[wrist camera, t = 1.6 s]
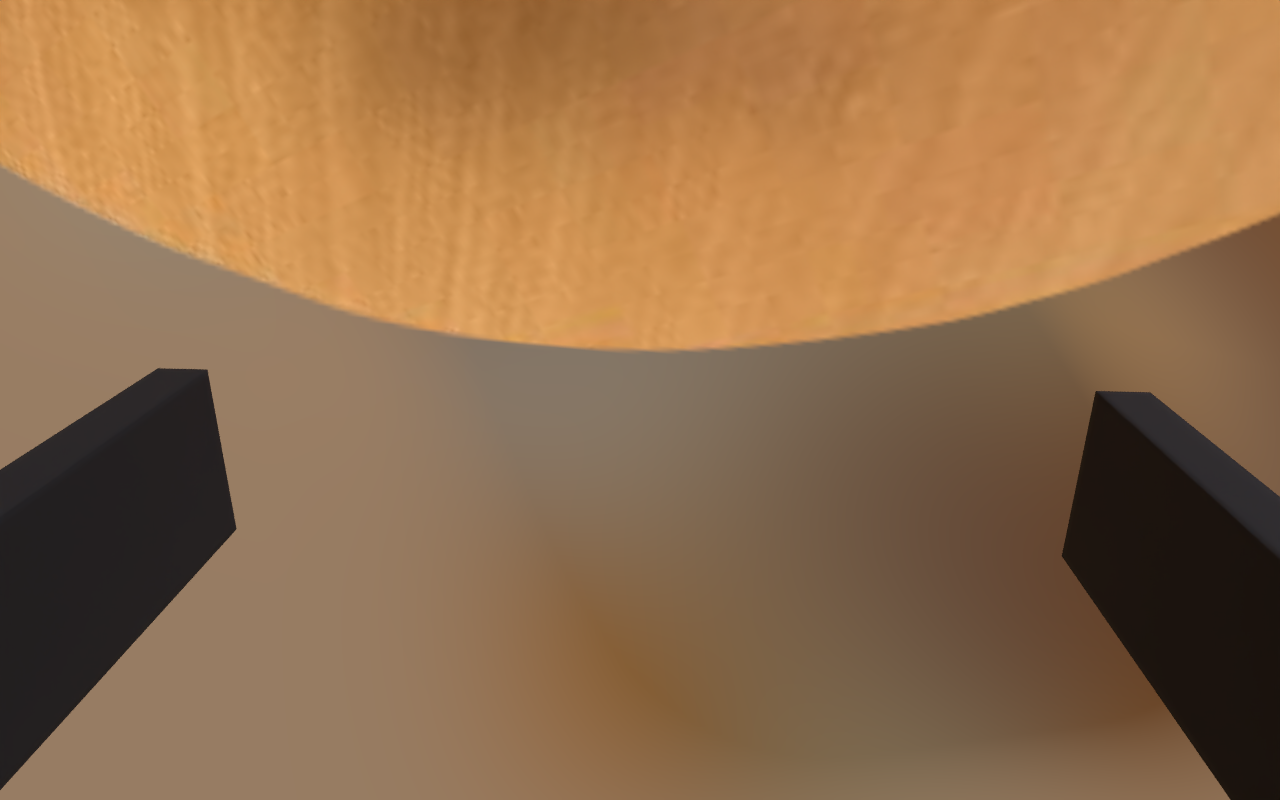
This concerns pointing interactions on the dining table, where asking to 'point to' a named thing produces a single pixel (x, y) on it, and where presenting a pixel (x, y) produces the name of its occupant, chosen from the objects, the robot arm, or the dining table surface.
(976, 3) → the dining table surface
